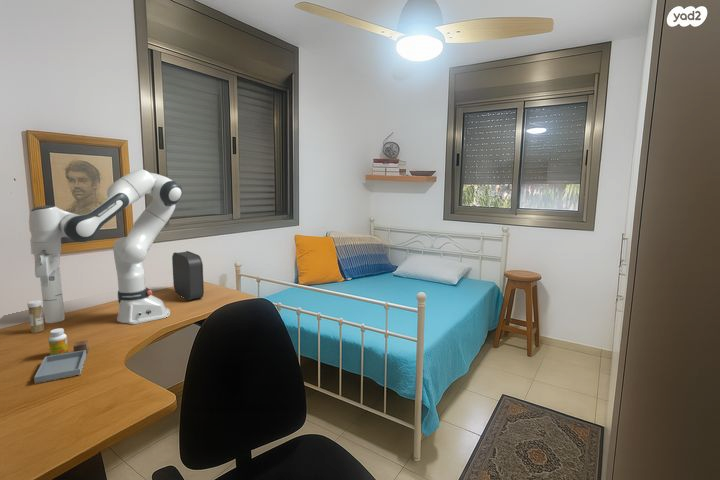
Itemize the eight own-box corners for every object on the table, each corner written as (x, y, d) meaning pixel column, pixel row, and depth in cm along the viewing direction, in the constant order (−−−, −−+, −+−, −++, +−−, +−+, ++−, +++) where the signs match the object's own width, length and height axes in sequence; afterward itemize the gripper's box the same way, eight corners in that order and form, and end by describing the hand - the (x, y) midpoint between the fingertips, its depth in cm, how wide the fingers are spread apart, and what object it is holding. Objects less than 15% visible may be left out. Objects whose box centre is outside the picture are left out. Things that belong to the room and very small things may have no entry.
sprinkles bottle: (43, 332, 159) (40, 302, 157) (29, 334, 157) (26, 304, 155) (45, 328, 163) (42, 299, 161) (31, 330, 160) (28, 300, 158)
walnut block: (88, 349, 145) (87, 340, 144) (87, 353, 141) (86, 344, 141) (75, 351, 143) (74, 342, 142) (74, 356, 139) (73, 346, 139)
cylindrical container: (68, 318, 174) (63, 267, 170) (51, 324, 168) (45, 271, 164) (58, 316, 177) (52, 266, 172) (41, 321, 170) (35, 269, 166)
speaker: (173, 292, 218) (171, 251, 214) (188, 289, 224) (186, 249, 220) (191, 302, 201) (189, 258, 197) (206, 299, 207) (205, 256, 203)
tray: (86, 355, 140) (85, 349, 139) (80, 375, 126) (79, 369, 126) (45, 362, 134) (45, 356, 133) (34, 384, 120) (34, 377, 120)
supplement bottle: (48, 358, 137) (45, 334, 135) (52, 352, 141) (49, 328, 140) (66, 356, 139) (64, 331, 138) (69, 350, 144) (67, 326, 142)
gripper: (50, 252, 133) (53, 289, 134) (62, 243, 150) (64, 276, 152) (27, 253, 129) (30, 291, 131) (42, 244, 147) (45, 277, 149)
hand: (49, 283), depth 142 cm, fingers open, 8 cm apart
